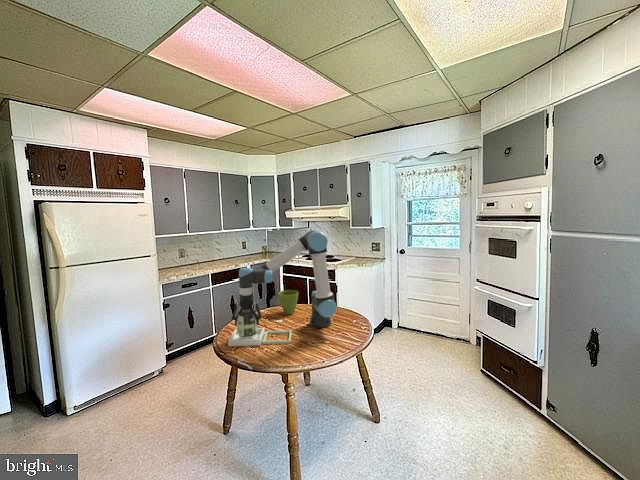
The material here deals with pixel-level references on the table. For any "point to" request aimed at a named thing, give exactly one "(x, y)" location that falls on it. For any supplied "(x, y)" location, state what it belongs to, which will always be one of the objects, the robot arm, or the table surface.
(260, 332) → the bin
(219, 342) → the table surface
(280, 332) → the frame
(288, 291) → the flower pot
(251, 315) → the coffee can
